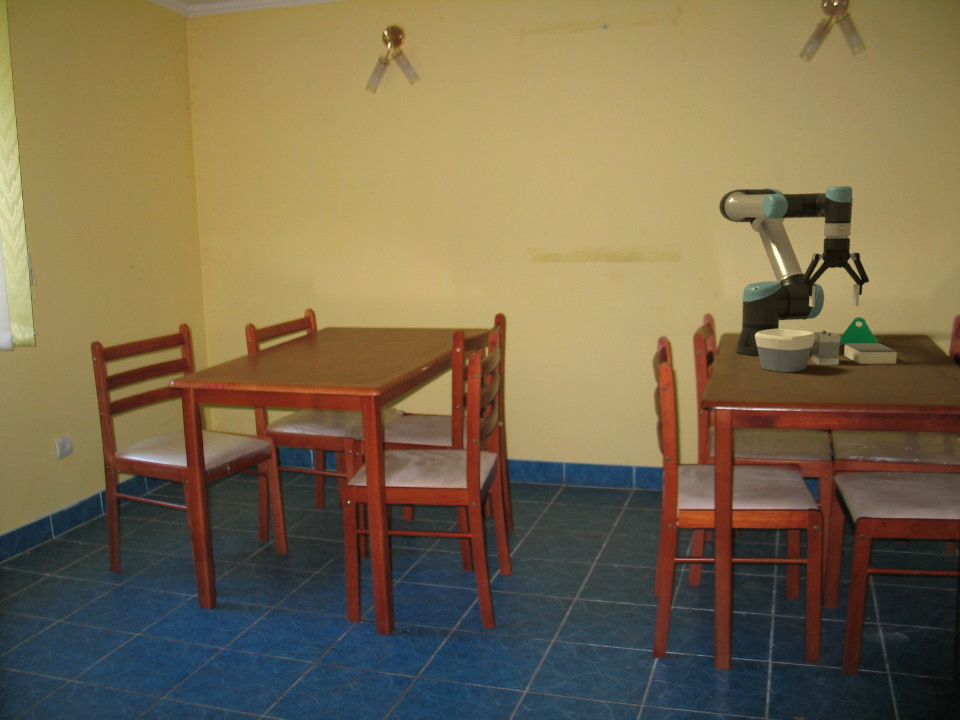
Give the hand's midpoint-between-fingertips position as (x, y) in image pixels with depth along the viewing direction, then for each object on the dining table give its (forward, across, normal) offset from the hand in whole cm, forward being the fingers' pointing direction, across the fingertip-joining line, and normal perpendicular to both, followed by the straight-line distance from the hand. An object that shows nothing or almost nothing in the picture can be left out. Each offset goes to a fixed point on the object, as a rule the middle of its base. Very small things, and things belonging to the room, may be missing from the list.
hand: (833, 306), depth 279 cm
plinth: (+17, +13, +1) cm, 22 cm away
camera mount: (+18, +20, +27) cm, 38 cm away
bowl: (+18, -19, -11) cm, 28 cm away
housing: (+17, -3, -2) cm, 18 cm away
